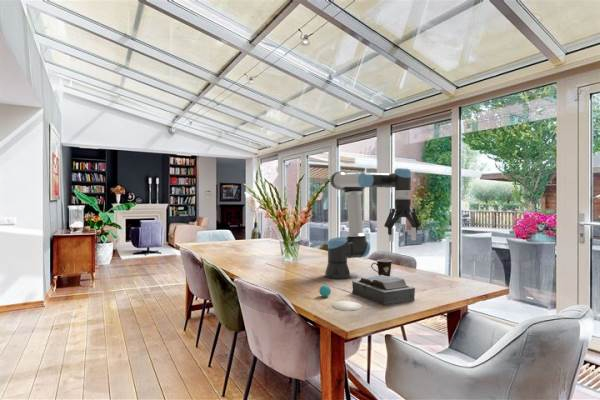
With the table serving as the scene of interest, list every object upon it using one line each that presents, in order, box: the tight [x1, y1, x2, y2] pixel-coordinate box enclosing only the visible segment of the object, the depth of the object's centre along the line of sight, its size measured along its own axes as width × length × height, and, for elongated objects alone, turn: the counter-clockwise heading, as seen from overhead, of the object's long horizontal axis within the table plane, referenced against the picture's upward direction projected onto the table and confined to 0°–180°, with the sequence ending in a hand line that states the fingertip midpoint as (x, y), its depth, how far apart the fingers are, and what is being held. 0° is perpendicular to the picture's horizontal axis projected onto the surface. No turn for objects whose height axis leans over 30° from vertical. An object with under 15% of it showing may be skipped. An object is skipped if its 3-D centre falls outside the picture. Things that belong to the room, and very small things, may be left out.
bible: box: [351, 274, 416, 306], centre depth 170 cm, size 23×27×10 cm
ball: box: [319, 284, 332, 298], centre depth 169 cm, size 6×6×6 cm
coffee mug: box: [371, 258, 392, 277], centre depth 211 cm, size 12×9×10 cm
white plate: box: [331, 300, 362, 312], centre depth 155 cm, size 13×13×1 cm
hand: (402, 240), depth 177 cm, fingers open, 13 cm apart
